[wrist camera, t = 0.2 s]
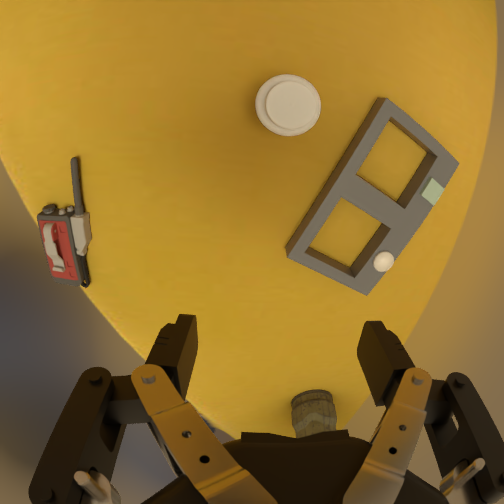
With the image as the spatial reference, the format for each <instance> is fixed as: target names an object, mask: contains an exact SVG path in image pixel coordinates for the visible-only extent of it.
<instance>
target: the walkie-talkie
mask: <svg viewBox="0 0 504 504" xmlns="http://www.w3.org/2000/svg"><path fill="white" fill-rule="evenodd" d="M71 173H72V184H73V193H74V202H75V207H74V209H73V206H69V207H67V208H68V209H55V208H56V207H55V205H53V204H51V205H47V206H45V207H43V211H42V212H41V213H39V214H38V215H37V221H38V226H39V230H40V235H41V239H42V244H43V247H44V251H45V254H46V259H47V263H48V266H49V270H50V273H51V277H52V278H53V280H54V281H55V282H56V283H60V284H66V285H72V286H80V284H81V285H82V286H83V287H85V288H87V287H88V286H89V284H90V280H89V276H88V274H89V273H88V270H87V264H86V261H85V256H86V255H85V254H86V253H87V246H88V244H89V242H90V241H91V239H92V236H91V230H90V223H89V218H90V216H89V213H87V212H84V208H83V205H82V200H81V191H80V180H79V175H78V163H77V158H76V157H73V158H72V159H71ZM84 279H86V283H84Z"/></svg>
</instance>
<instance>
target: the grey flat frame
mask: <svg viewBox="0 0 504 504" xmlns="http://www.w3.org/2000/svg"><path fill="white" fill-rule="evenodd" d="M388 120H389V121H391V122H392V123H393V124H394V125H396V126H397V127H398V128H399V129H401V130H402V131H403V132H404V133H406V134H407V135H408V136H409V137H410V138H412V139H413V140H414V141H415V142H416V143H417V144H419V145H420V146H421V147H422V148H423V149H424V150H425V151H426V152H428V153H427V154H426V156H425V158H424V159H423V161H422V163H421V164H420V166H419V168H418V169H417V171H416V172H415V174H414V176H413V177H412V179H411V180H410V182H409V184H408V185H407V187H406V188H405V190H404V191H403V193H402V195H401V196H400V198H399V199H398V201H397V202H395V201H394V200H393V199H391V198H390V197H388V196H387V195H386V194H384V193H383V192H381V191H380V190H378V189H377V188H376V187H374V186H373V185H371V184H370V183H368V182H367V181H365V180H364V179H362V178H361V177H359V176H358V175H356V173H357V171H358V170H359V168H360V166H361V165H362V163H363V162H364V160H365V158H366V157H367V155H368V154H369V152H370V150H371V149H372V147H373V145H374V144H375V142H376V140H377V139H378V137H379V135H380V134H381V132H382V130H383V129H384V127H385V125H386V124H387V122H388ZM458 165H459V162H458V161H457V160H456V159H455V158H454V157H453V156H452V155H451V154H450V153H449V152H448V151H447V150H446V149H445V148H444V147H443V146H442V145H441V144H440V143H439V142H438V141H437V140H436V139H435V138H433V137H432V136H431V135H430V134H429V133H428V132H427V131H426V130H425V129H424V128H423V127H421V126H420V125H419V124H418V123H417V122H416V121H415V120H413V119H412V118H411V117H410V116H409V115H407V114H406V113H405V112H404V111H403V110H401V109H400V108H399V107H398V106H396V105H395V104H394V103H393V102H391V101H390V100H389V99H387V98H377V100H376V102H375V103H374V105H373V107H372V109H371V110H370V112H369V114H368V115H367V117H366V119H365V120H364V122H363V124H362V125H361V127H360V129H359V130H358V132H357V134H356V135H355V137H354V139H353V140H352V142H351V144H350V145H349V147H348V149H347V150H346V152H345V153H344V155H343V157H342V158H341V160H340V162H339V163H338V165H337V166H336V168H335V170H334V171H333V173H332V175H331V176H330V178H329V179H328V181H327V183H326V184H325V186H324V187H323V189H322V191H321V192H320V194H319V195H318V197H317V199H316V200H315V202H314V203H313V205H312V207H311V208H310V210H309V211H308V213H307V214H306V216H305V218H304V219H303V221H302V222H301V224H300V225H299V227H298V229H297V230H296V232H295V233H294V235H293V236H292V238H291V239H290V241H289V243H288V244H287V246H286V247H285V249H286V254H287V258H289V259H292V260H294V261H296V262H298V263H300V264H302V265H304V266H306V267H308V268H310V269H312V270H314V271H317V272H319V273H321V274H323V275H325V276H327V277H329V278H331V279H333V280H335V281H337V282H339V283H341V284H344V285H346V286H348V287H350V288H352V289H354V290H356V291H358V292H360V293H362V294H364V295H366V296H367V295H368V294H369V293H370V291H371V290H372V289H373V288H374V286H375V285H376V284H377V283H378V281H379V280H380V279H381V278H382V276H383V275H384V274H385V273H386V271H387V270H389V269H390V268H391V267H392V265H393V263H394V261H395V260H396V258H397V257H398V256H399V254H400V253H401V252H402V250H403V249H404V248H405V246H406V245H407V244H408V242H409V241H410V239H411V238H412V237H413V235H414V234H415V232H416V231H417V229H418V228H419V227H420V225H421V224H422V222H423V221H424V219H425V218H426V216H427V215H428V213H429V212H430V210H431V209H432V207H433V206H434V205H435V204H436V202H437V200H438V199H439V197H440V196H441V194H442V193H443V191H444V188H445V187H446V185H447V184H448V182H449V180H450V179H451V177H452V175H453V174H454V172H455V170H456V168H457V167H458ZM341 197H342V198H344V199H345V200H347V201H349V202H350V203H352V204H354V205H355V206H357V207H358V208H360V209H361V210H363V211H365V212H366V213H368V214H369V215H371V216H372V217H374V218H375V219H377V220H379V221H380V222H382V224H381V226H380V227H379V229H378V230H377V231H376V233H375V234H374V236H373V237H372V239H371V240H370V241H369V243H368V244H367V245H366V247H365V248H364V250H363V251H362V252H361V254H360V255H359V256H358V258H357V259H356V260H355V262H354V263H353V264H352V266H351V267H350V268H349V267H347V266H345V265H343V264H341V263H339V262H337V261H335V260H333V259H331V258H329V257H328V256H326V255H324V254H322V253H320V252H318V251H316V250H314V249H312V248H310V247H308V246H309V245H310V244H311V242H312V241H313V239H314V238H315V236H316V235H317V233H318V232H319V230H320V229H321V227H322V226H323V224H324V223H325V221H326V220H327V218H328V216H329V215H330V213H331V212H332V210H333V209H334V207H335V206H336V204H337V203H338V201H339V200H340V198H341Z"/></svg>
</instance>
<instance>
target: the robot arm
mask: <svg viewBox="0 0 504 504" xmlns="http://www.w3.org/2000/svg"><path fill="white" fill-rule="evenodd" d="M197 350H198V336H197V321H196V315H188V314H179V316H178V318H177V321H176V323H175V324H171V323H168V324H167V325H165V326H164V327H163V328H162V329H161V330H160V332H159V334H158V336H157V338H156V341H155V344H154V345H153V347H152V349H151V351H150V353H149V356H148V358H147V360H146V362H145V364H144V365H142V366H139V367H138V368H136V369H135V370H134V371H133V372H132V374H131V375H128V376H111V373H110V372H109V371H108V370H107V369H105V368H102V367H93V368H90V369H87V370H86V371H84V372H83V373H82V375H81V377H80V378H79V380H78V382H77V384H76V386H75V388H74V389H73V391H72V393H71V395H70V397H69V399H68V401H67V403H66V405H65V407H64V409H63V411H62V413H61V415H60V417H59V419H58V422H57V423H56V425H55V428H54V430H53V432H52V434H51V436H50V438H49V441H48V443H47V445H46V447H45V450H44V452H43V454H42V456H41V459H40V461H39V464H38V466H37V468H36V471H35V473H34V476H33V478H32V481H31V484H30V486H29V498H30V500H31V502H32V504H121V497H120V495H119V492H118V491H117V489H116V488H115V487H114V486H113V485H112V484H111V483H110V481H111V478H112V474H113V470H114V467H115V463H116V459H117V455H118V452H119V449H120V445H121V442H122V439H123V435H124V432H125V428H126V425H127V424H134V423H147V425H148V427H149V429H150V430H151V432H152V434H153V436H154V438H155V439H156V441H157V443H158V445H159V447H160V449H161V450H162V452H163V454H164V456H165V458H166V460H167V461H168V463H169V465H170V467H171V469H172V470H173V472H174V473H175V475H176V476H177V478H176V479H175V480H174V481H172V482H171V483H170V484H168V485H167V486H165V487H164V488H163V489H161V490H160V491H158V492H157V493H156V494H154V495H153V496H151V497H150V498H149V499H147V500H145V501H144V502H143V503H141V504H494V503H496V502H497V501H499V500H500V499H501V498H503V497H504V442H503V440H502V438H501V436H500V434H499V431H498V430H497V428H496V426H495V424H494V422H493V420H492V418H491V416H490V414H489V412H488V410H487V409H486V407H485V405H484V403H483V401H482V400H481V398H480V396H479V394H478V393H477V391H476V389H475V387H474V386H473V384H472V382H471V381H470V379H469V378H468V377H467V376H466V375H464V374H462V373H458V372H454V373H451V374H449V375H448V377H447V379H446V381H444V380H434V379H432V378H431V376H430V375H429V374H428V372H426V371H425V370H423V369H421V368H416V367H415V365H414V364H413V362H412V360H411V358H410V357H409V355H408V353H407V352H406V350H405V348H404V347H403V345H401V342H400V340H399V338H398V337H397V336H396V335H395V334H394V333H393V332H391V331H390V330H387V329H386V328H385V326H384V324H383V323H382V321H366V322H365V324H364V327H363V330H362V334H361V337H360V340H359V343H358V347H357V357H358V360H359V362H360V365H361V367H362V370H363V373H364V375H365V378H366V380H367V383H368V386H369V388H370V391H371V394H372V396H373V399H374V402H375V405H376V406H384V405H385V407H386V410H385V412H384V413H383V416H382V418H381V420H380V422H379V424H378V426H377V427H376V429H375V431H374V433H373V435H372V437H371V439H370V441H369V442H367V441H365V440H362V439H359V438H355V437H349V434H348V430H336V431H323V432H319V433H316V434H312V435H308V436H305V437H301V438H291V437H286V436H281V435H276V434H271V433H252V432H241V439H238V440H234V441H229V442H227V443H224V444H221V443H220V442H219V441H218V439H217V438H216V437H215V435H214V434H213V433H212V431H211V430H210V429H209V427H208V426H207V425H206V424H205V422H204V421H203V420H202V418H201V417H200V415H199V414H198V413H197V411H196V410H195V409H194V407H193V406H192V405H191V403H189V402H186V403H185V402H184V401H185V398H186V394H187V390H188V386H189V382H190V378H191V374H192V370H193V367H194V363H195V359H196V355H197ZM453 415H455V417H456V420H457V422H458V425H459V428H458V431H457V428H456V426H455V424H454V422H453V419H452V416H453ZM423 424H424V426H425V429H426V432H427V434H428V437H429V440H430V443H431V446H432V449H433V452H434V455H435V458H436V461H437V463H438V467H439V470H440V473H441V476H442V480H441V483H440V487H439V489H440V491H439V490H438V489H436V488H435V487H433V486H431V485H430V484H428V483H427V482H425V481H424V480H422V479H421V478H419V477H418V476H416V475H415V474H413V473H412V472H410V471H409V470H407V467H408V465H409V462H410V460H411V458H412V455H413V452H414V450H415V447H416V444H417V442H418V439H419V436H420V433H421V430H422V427H423Z"/></svg>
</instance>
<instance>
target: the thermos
mask: <svg viewBox="0 0 504 504" xmlns="http://www.w3.org/2000/svg"><path fill="white" fill-rule="evenodd" d="M336 422H337V416H336V411H335V405H334V404H333V400H332V395H331V394H330V392H327V391H325V390H310V391H305V392H303V393H300V394H298V395H297V396H295V397H294V398H293V399H292V425H293V428H294V429H295V431H296V438H301V437H305V436H308V435H312V434H316V433H319V432H323V431H336Z"/></svg>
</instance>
